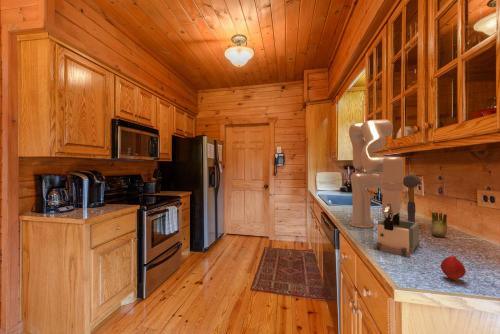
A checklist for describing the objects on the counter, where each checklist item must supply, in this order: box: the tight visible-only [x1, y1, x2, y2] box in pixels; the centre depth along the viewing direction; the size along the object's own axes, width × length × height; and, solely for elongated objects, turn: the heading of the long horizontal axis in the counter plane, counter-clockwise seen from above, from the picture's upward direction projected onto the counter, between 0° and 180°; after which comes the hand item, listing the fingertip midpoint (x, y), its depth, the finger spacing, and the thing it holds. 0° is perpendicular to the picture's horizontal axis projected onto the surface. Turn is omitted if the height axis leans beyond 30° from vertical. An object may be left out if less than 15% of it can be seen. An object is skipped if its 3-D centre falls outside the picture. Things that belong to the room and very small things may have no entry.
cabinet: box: [373, 219, 420, 258], centre depth 101 cm, size 18×13×10 cm
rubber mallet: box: [403, 174, 421, 223], centre depth 131 cm, size 12×8×30 cm, turn 139°
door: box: [376, 224, 409, 251], centre depth 97 cm, size 4×11×10 cm, turn 44°
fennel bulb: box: [430, 211, 448, 238], centre depth 115 cm, size 6×5×12 cm
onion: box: [440, 254, 467, 281], centre depth 73 cm, size 6×6×8 cm
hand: (392, 227), depth 98 cm, fingers open, 9 cm apart
